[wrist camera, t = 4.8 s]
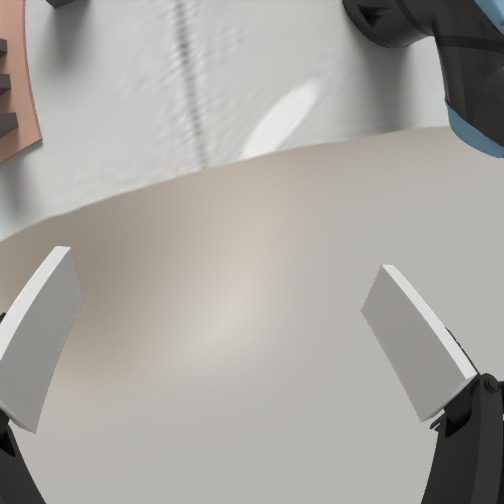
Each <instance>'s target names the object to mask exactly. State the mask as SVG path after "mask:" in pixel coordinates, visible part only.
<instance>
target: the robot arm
mask: <svg viewBox="0 0 504 504" xmlns="http://www.w3.org/2000/svg"><path fill="white" fill-rule="evenodd" d="M343 3H344V5H345V8H346V10H347V12H348V14H349V16H350V18H351V19H352V21H353V22H354V24H355V25H356V26H357V27H358V28H359V30H360V31H361V32H362V33H363V34H364V35H365V36H367V37H368V38H369V39H370V40H372V41H373V42H375V43H377V44H379V45H381V46H384V47H388V48H398V47H406V46H408V45H410V44H412V43H414V42H416V41H419V40H421V39H423V38H425V37H428V36H434V37H435V41H436V46H437V50H438V54H439V59H440V64H441V70H442V76H443V82H444V89H445V103H446V106H447V109H448V117H449V123H450V126H451V128H452V130H453V131H454V133H455V134H456V135H457V136H458V137H459V138H460V139H461V140H463V141H464V142H465V143H467V144H468V145H470V146H471V147H474V148H475V149H477V150H479V151H481V152H483V153H485V154H488V155H490V156H493V157H496V158H501V157H502V158H504V0H343ZM83 302H84V300H83V297H82V293H81V289H80V285H79V281H78V278H77V273H76V269H75V265H74V260H73V256H72V250H71V247H60V246H56V247H55V248H54V249H53V250H52V252H51V253H50V254H49V255H48V257H47V258H46V259H45V260H44V262H43V263H42V264H41V265H40V267H39V268H38V269H37V271H36V272H35V273H34V275H33V276H32V277H31V279H30V280H29V281H28V283H27V284H26V286H25V287H24V288H23V290H22V292H21V293H20V294H19V296H18V297H17V299H16V300H15V301H14V303H13V305H12V306H11V308H10V309H9V311H8V312H7V313H2V314H1V315H0V504H46V503H45V501H44V499H43V498H42V496H41V494H40V492H39V491H38V489H37V487H36V485H35V483H34V481H33V479H32V477H31V475H30V473H29V471H28V469H27V467H26V465H25V462H24V460H23V457H22V455H21V453H20V451H19V448H18V445H17V443H16V440H15V437H14V435H13V432H12V430H11V428H10V426H9V425H8V422H9V419H11V420H12V421H13V422H14V423H15V424H16V425H17V426H18V427H20V428H23V429H25V430H27V431H29V432H32V433H34V434H35V433H36V429H37V425H38V422H39V418H40V414H41V410H42V407H43V403H44V400H45V397H46V394H47V391H48V388H49V385H50V382H51V379H52V376H53V373H54V370H55V368H56V365H57V362H58V359H59V357H60V354H61V352H62V349H63V347H64V344H65V342H66V339H67V337H68V335H69V332H70V330H71V328H72V325H73V323H74V321H75V319H76V316H77V314H78V312H79V310H80V308H81V306H82V304H83ZM361 312H362V314H363V316H364V317H365V319H366V320H367V322H368V324H369V326H370V327H371V329H372V331H373V333H374V334H375V336H376V338H377V340H378V341H379V343H380V345H381V347H382V349H383V350H384V352H385V354H386V356H387V357H388V359H389V361H390V363H391V365H392V367H393V368H394V370H395V372H396V374H397V376H398V378H399V380H400V381H401V383H402V385H403V387H404V389H405V391H406V393H407V395H408V397H409V399H410V401H411V402H412V405H413V407H414V409H415V411H416V413H417V415H418V417H419V419H420V421H421V422H423V421H426V420H428V419H430V418H432V417H434V416H435V415H436V414H438V413H439V412H440V411H441V410H442V409H444V411H445V413H443V414H442V415H441V416H440V417H439V418H438V419H437V420H435V421H434V422H433V423H432V424H431V426H430V429H432V428H434V427H435V426H436V425H437V424H439V423H440V425H438V426H437V427H436V428H435V431H438V432H439V433H438V439H437V444H436V450H435V454H434V459H433V463H432V467H431V471H430V475H429V479H428V482H427V486H426V489H425V493H424V496H423V499H422V502H421V504H504V421H503V414H504V381H500V382H498V381H497V380H496V379H495V377H494V376H492V375H490V374H487V373H485V374H482V376H481V375H480V373H479V372H478V371H477V369H476V368H475V366H474V365H473V363H472V362H471V360H470V359H469V357H468V356H467V354H466V353H465V351H464V350H463V349H461V346H460V344H459V343H458V342H456V339H455V338H454V336H453V335H452V333H451V332H450V331H449V330H448V329H447V328H446V327H444V326H443V324H442V323H441V322H440V320H439V319H438V318H437V316H436V315H435V314H434V313H433V312H432V310H431V309H430V308H429V306H428V305H427V304H426V303H425V302H424V300H423V299H422V298H421V297H420V295H419V294H418V293H417V292H416V291H415V289H414V288H413V287H412V286H411V285H410V284H409V282H408V281H407V280H406V279H405V278H404V277H403V275H402V274H401V273H400V272H399V271H398V270H397V269H396V268H395V266H394V265H381V267H380V269H379V271H378V274H377V276H376V279H375V281H374V283H373V285H372V288H371V290H370V292H369V294H368V297H367V299H366V301H365V303H364V305H363V307H362V309H361Z"/></svg>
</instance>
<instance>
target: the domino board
mask: <svg viewBox="0 0 504 504" xmlns="http://www.w3.org/2000/svg"><path fill="white" fill-rule="evenodd" d="M0 38H2V39H5V40H7V51H8V52H7V53H6V54H4V55H3V56H1V57H0V74H10V81H11V88H10V89H9V90H7V91H6V92H5V93H3V94H2V95H0V114H6V113H12V112H16V116H17V120H18V125H19V127H17V128H15V129H14V130H12V131H11V132H9V133H8V134H6V135H5V136H3V137H2V138H0V164H1V163H2V162H4V161H5V160H7V159H8V158H10V157H11V156H13V155H15V154H16V153H18V152H19V151H21V150H23V149H24V148H26V147H28V146H30V145H31V144H33V143H35V142H37V141H38V140H40V139H42V135H41V132H40V128H39V124H38V120H37V115H36V111H35V106H34V101H33V96H32V90H31V85H30V78H29V71H28V63H27V53H26V41H25V0H0Z"/></svg>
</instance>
